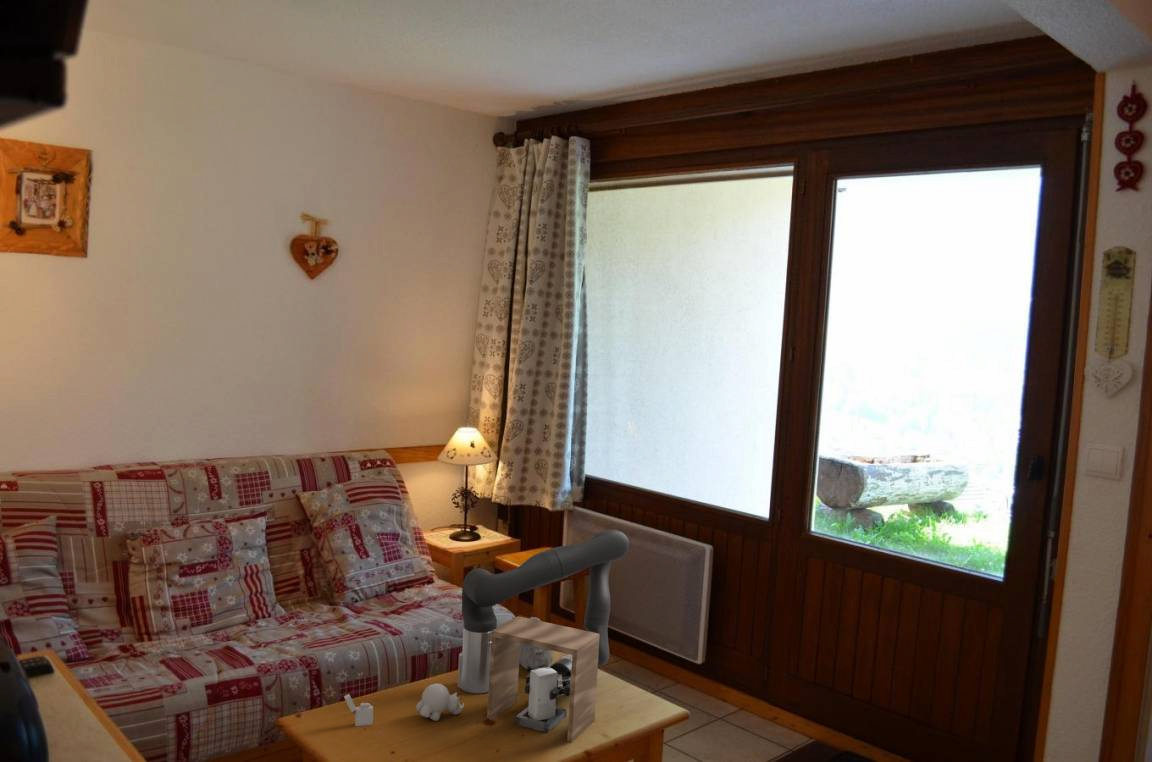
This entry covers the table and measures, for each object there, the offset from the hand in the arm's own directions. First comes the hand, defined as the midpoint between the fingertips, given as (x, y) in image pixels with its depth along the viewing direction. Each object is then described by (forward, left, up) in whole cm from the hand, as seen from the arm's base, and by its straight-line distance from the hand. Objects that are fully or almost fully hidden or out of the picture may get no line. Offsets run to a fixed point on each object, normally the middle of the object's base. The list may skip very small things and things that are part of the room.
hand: (538, 693), depth 230 cm
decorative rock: (-19, +33, -8) cm, 39 cm away
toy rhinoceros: (-23, -10, -8) cm, 27 cm away
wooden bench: (0, +2, -8) cm, 8 cm away
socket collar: (0, +2, -8) cm, 8 cm away
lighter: (-38, -25, -8) cm, 46 cm away
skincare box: (0, +2, -7) cm, 8 cm away
